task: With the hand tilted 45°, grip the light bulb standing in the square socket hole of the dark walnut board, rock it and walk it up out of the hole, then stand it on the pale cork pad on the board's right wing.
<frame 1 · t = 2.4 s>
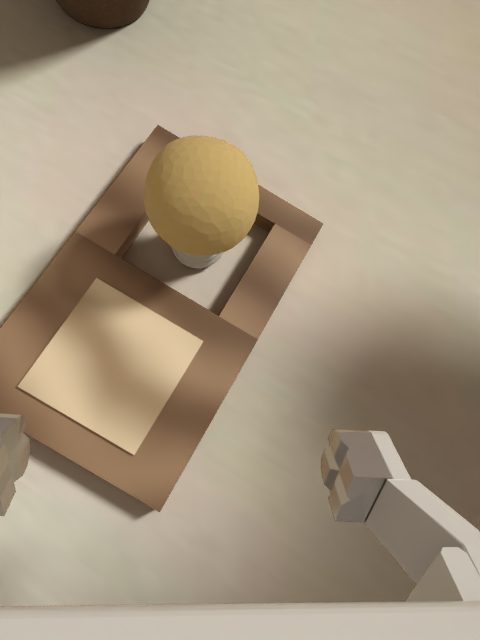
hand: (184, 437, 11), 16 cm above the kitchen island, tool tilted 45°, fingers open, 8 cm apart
light bulb: (197, 248, 30), resting in socket board
socket board: (159, 303, 28), on the kitchen island
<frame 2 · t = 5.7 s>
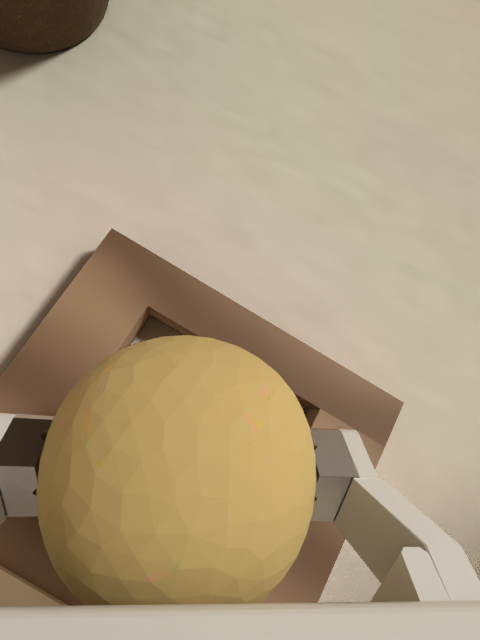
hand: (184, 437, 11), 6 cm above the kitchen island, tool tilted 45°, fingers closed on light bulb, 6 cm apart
light bulb: (180, 446, 17), resting in socket board, touching gripper
socket board: (109, 568, 15), on the kitchen island
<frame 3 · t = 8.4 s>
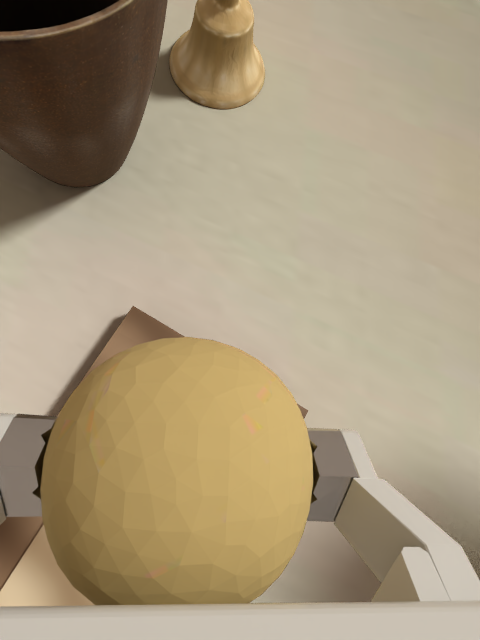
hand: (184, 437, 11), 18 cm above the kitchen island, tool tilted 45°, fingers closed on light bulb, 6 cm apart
light bulb: (180, 445, 17), point 11 cm above the kitchen island, touching gripper
hand bell: (217, 70, 36), on the kitchen island
plant pot: (78, 145, 32), on the kitchen island
socket board: (132, 506, 26), on the kitchen island
when the fingers open (9 cm above the kitchen island, at t = 11.7 s): light bulb stays where it is, resting on socket board.
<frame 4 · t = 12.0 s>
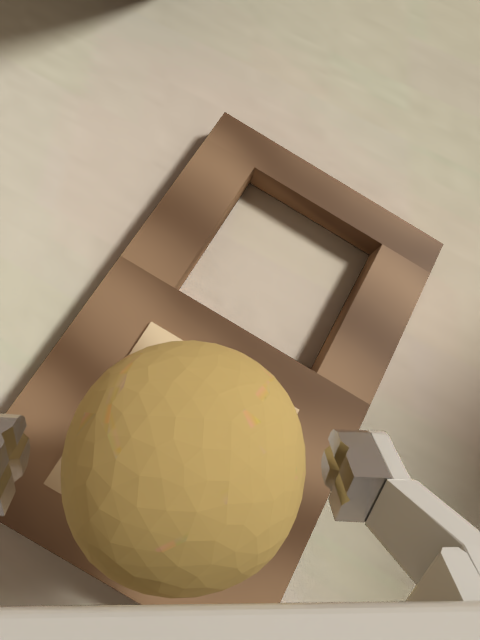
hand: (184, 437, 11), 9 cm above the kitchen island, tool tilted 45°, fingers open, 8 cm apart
light bulb: (182, 441, 18), point 2 cm above the kitchen island, touching socket board
socket board: (231, 352, 21), on the kitchen island
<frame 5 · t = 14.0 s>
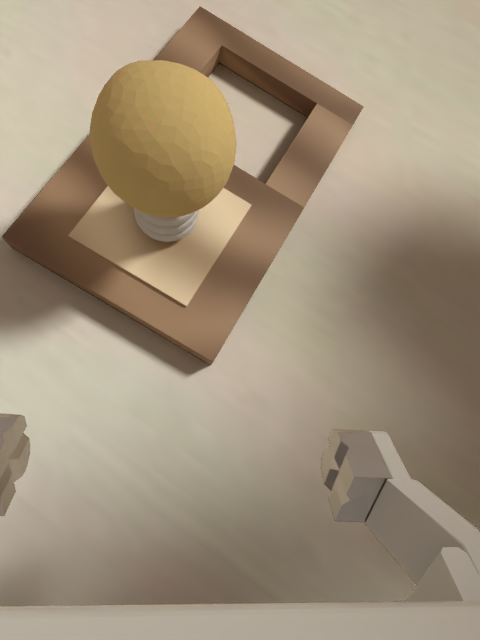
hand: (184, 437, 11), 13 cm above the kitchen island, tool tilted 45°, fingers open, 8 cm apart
light bulb: (166, 219, 25), point 2 cm above the kitchen island, touching socket board
socket board: (203, 176, 28), on the kitchen island
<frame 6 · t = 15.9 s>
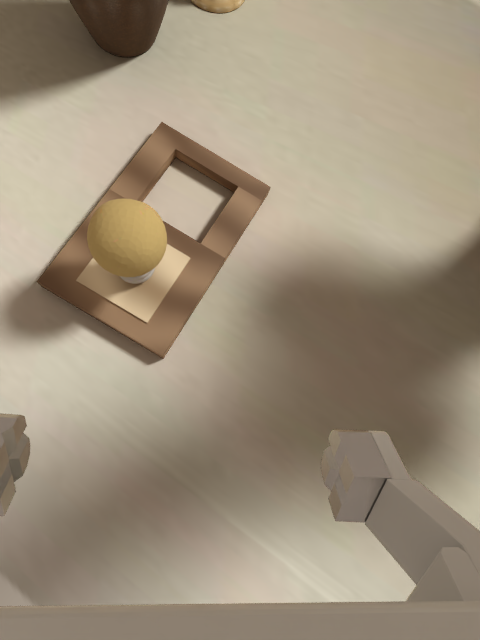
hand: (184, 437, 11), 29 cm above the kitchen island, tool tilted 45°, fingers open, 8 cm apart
light bulb: (136, 268, 41), point 2 cm above the kitchen island, touching socket board
plant pot: (124, 32, 49), on the kitchen island
socket board: (162, 237, 43), on the kitchen island
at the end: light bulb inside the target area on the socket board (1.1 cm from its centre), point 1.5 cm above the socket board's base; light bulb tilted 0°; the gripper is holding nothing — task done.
